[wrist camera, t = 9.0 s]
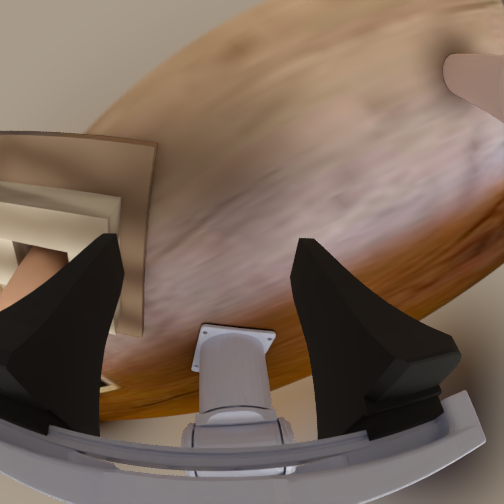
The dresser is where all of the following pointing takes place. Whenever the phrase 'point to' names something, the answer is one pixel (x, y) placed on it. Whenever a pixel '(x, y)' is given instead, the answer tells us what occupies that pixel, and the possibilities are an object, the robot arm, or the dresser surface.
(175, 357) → the dresser surface
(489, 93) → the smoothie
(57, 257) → the peg
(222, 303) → the dresser surface
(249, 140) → the dresser surface
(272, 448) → the robot arm
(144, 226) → the socket
